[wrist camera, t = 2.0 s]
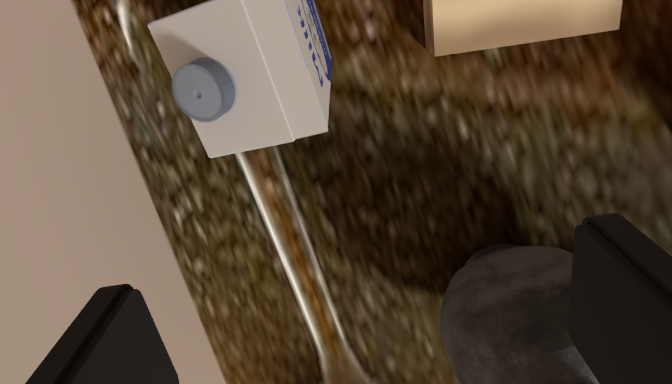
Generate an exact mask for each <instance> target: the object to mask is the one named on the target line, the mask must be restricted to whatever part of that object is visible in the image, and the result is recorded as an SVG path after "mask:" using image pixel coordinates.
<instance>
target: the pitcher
mask: <svg viewBox="0 0 672 384" xmlns="http://www.w3.org/2000/svg"><path fill="white" fill-rule="evenodd" d="M572 259H573V254H572V253H570V252H568V251H566V250H564V249H560V248H557V247H552V246H522V247H521V246H519V245H513V244H508V243H504V244H497V245H491V246H488V247H486V248H484V249H481V250H479V251H477V252H476V253H475V254H474V255H473V256H471V257H470V258H469V259H468V260H467V262H466V264H465V266H463V267H462V268H461V269H459V270H458V271H457V272H456V273H455V274H454V276H453V278H452V280H451V281H450V283H449V285H448V287H447V290H446V292H445V295H444V299H443V302H442V307H441V321H440V329H441V335H442V340H443V345H444V351H445V354H446V356H447V359H448V361H449V364H450V366H451V368H452V370H453V373H454V375H455V377H456V378H457V380H458V381H459V383H460V384H599V382H598V381H597V379H596V377H595V376H594V374H593V373H592V371H591V370H590V368H589V367H588V365H587V364H586V362H585V361H584V359H583V358H582V356H581V355H580V353H579V352H578V350H577V349H576V347H575V346H574V344H573V342H572V340H571V338H570V334H569V330H568V319H569V304H570V289H571V274H572Z"/></svg>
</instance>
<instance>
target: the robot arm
mask: <svg viewBox="0 0 672 384" xmlns="http://www.w3.org/2000/svg"><path fill="white" fill-rule="evenodd" d="M568 330H569V334H570V338H571V340H572V342H573V344H574V346H575V347H576V349H577V350H578V352H579V353H580V355H581V356H582V358H583V359H584V361H585V362H586V364H587V365H588V367H589V368H590V370H591V371H592V373H593V374H594V376H595V377H596V379H597V381H598V382H599V384H672V257H671V256H670V255H669V254H668V253H667V252H665V251H664V250H663V249H662V248H660V247H659V246H658V245H657V244H656V243H654V242H653V241H652V240H651V239H649V238H648V237H647V236H646V235H645V234H643V233H642V232H641V231H640V230H638V229H637V228H636V227H635V226H634V225H632V224H631V223H630V222H629V221H627V220H626V219H625V218H624V217H623V216H621V215H620V214H618V213H610V214H604V215H597V216H590V217H586V218H585V219H584V220H583V222H582V225H578V226H576V228H575V231H574V244H573V259H572V274H571V289H570V304H569V319H568ZM25 384H179V379H178V375H177V373H176V371H175V368H174V366H173V364H172V362H171V359H170V357H169V355H168V353H167V350H166V348H165V346H164V343H163V341H162V339H161V337H160V334H159V332H158V330H157V328H156V326H155V323H154V321H153V318H152V316H151V314H150V312H149V309H148V307H147V305H146V303H145V300H144V298H143V296H142V294H141V292H140V291H139V290H137V289H133V287H131V286H130V285H129V284H121V285H115V286H108V287H102V288H99V289H98V290H97V291H96V292H95V294H94V295H93V296H92V298H91V299H90V300H89V301H88V303H87V304H86V306H85V307H84V308H83V309H82V310H81V312H80V313H79V314H78V316H77V317H76V318H75V320H74V321H73V322H72V323H71V325H70V326H69V327H68V329H67V330H66V331H65V333H64V334H63V336H61V338H60V339H59V340H58V342H57V343H56V344H55V346H54V347H53V348H52V349H51V351H50V352H49V354H48V355H47V356H46V357H45V359H44V360H43V361H42V363H41V364H40V365H39V366H38V368H37V369H36V370H35V372H34V373H33V374H32V376H31V377H30V378H29V379H28V381H27V382H26V383H25Z"/></svg>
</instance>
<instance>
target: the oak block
mask: <svg viewBox="0 0 672 384" xmlns="http://www.w3.org/2000/svg"><path fill="white" fill-rule="evenodd" d="M622 1H623V0H423V7H424V25H425V43H426V50H427V51H429V52H430V53H431V54H432V55H434V56H442V55H449V54H456V53H463V52H469V51H476V50H483V49H490V48H497V47H503V46H510V45H517V44H524V43H531V42H537V41H544V40H551V39H558V38H565V37H571V36H578V35H585V34H592V33H599V32H605V31H612V30H619V25H620V17H621V9H622Z"/></svg>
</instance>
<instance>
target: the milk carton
mask: <svg viewBox="0 0 672 384" xmlns="http://www.w3.org/2000/svg"><path fill="white" fill-rule="evenodd" d="M147 26H148V28H149V30H150V32H151V34H152V37H153V39H154V41H155V43H156V45H157V47H158V49H159V52H160V54H161V56H162V58H163V60H164V62H165V64H166V67H167V69H168V71H169V73H170V75H171V77H172V83H173V84H171V85H173V86H171V87H173V88H171V89H173V90H172V91H173V92H172V93H174V94H173V95H174V96H173V97H175V98H174V99H176V100H175V101H177V103H178V105H179V106H180V107H179V108H181V109H182V111H184V112H185V114H187V115H189V116H190V118H191V120H192V122H193V124H194V126H195V129H196V131H197V133H198V135H199V137H200V139H201V141H202V144H203V146H204V148H205V150H206V152H207V154H208V156H209V158H214V157H219V156H224V155H229V154H234V153H239V152H244V151H249V150H254V149H259V148H264V147H268V146H273V145H278V144H283V143H288V142H293V141H295V140H296V139H298V138H303V137H307V136H311V135H316V134H320V133H324V132H328V116H329V100H330V85H331V70H332V58H331V54H330V51H329V48H328V45H327V41H326V38H325V35H324V32H323V29H322V25H321V22H320V19H319V16H318V12H317V9H316V6H315V3H314V0H209V1H207V2H204V3H201V4H198V5H196V6H193V7H190V8H188V9H185V10H182V11H180V12H177V13H174V14H172V15H169V16H166V17H164V18H161V19H158V20H156V21H153V22H151V23H149V24H148V25H147ZM181 109H180V110H181ZM184 112H183V113H184ZM189 116H188V117H189Z"/></svg>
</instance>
